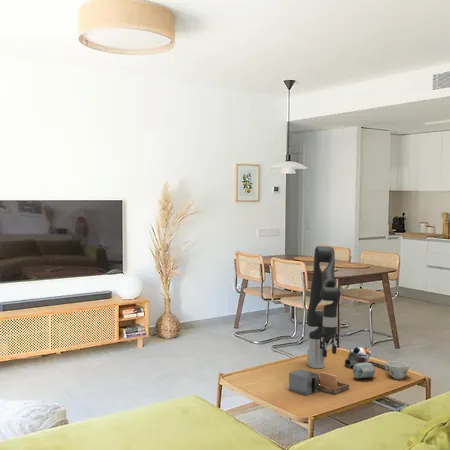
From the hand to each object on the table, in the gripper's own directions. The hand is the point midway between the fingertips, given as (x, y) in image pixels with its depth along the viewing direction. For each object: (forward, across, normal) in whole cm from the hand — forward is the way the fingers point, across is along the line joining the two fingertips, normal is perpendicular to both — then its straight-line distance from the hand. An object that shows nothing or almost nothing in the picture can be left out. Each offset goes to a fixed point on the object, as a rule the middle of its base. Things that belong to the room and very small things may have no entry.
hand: (329, 355), depth 288 cm
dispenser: (+18, +13, -7) cm, 23 cm away
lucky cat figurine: (+18, -44, -11) cm, 49 cm away
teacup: (+18, -44, +14) cm, 50 cm away
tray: (+18, 0, 0) cm, 18 cm away
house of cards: (+19, -58, -20) cm, 64 cm away
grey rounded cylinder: (+18, -26, +3) cm, 32 cm away
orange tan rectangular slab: (+17, 0, 0) cm, 17 cm away
